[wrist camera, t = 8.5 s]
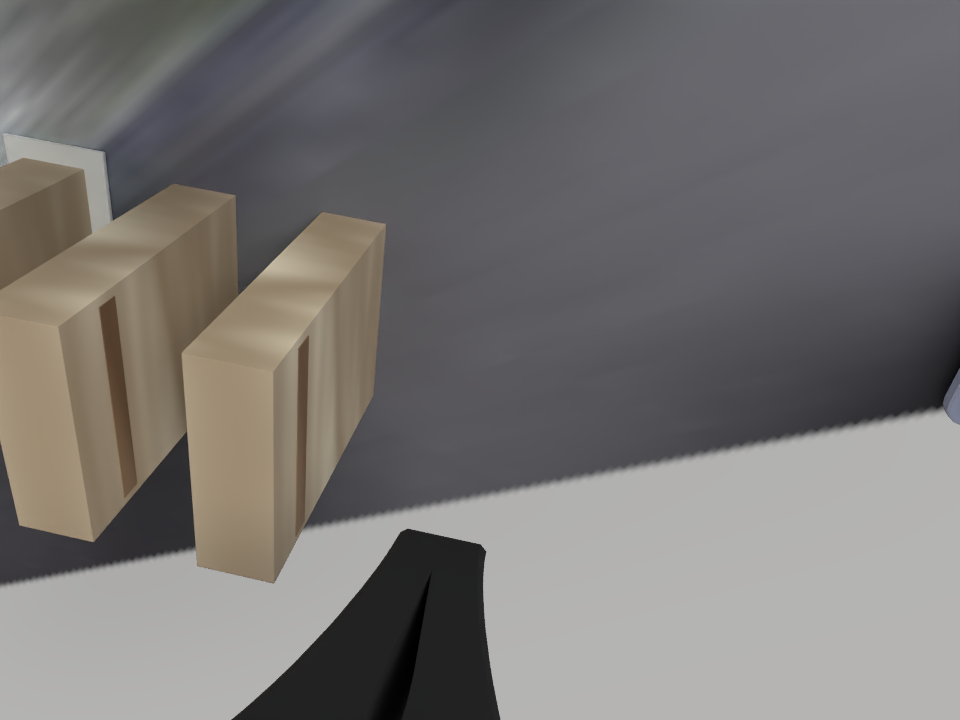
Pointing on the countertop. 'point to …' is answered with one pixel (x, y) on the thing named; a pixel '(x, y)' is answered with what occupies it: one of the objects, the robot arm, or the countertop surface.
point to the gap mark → (71, 157)
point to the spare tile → (39, 214)
